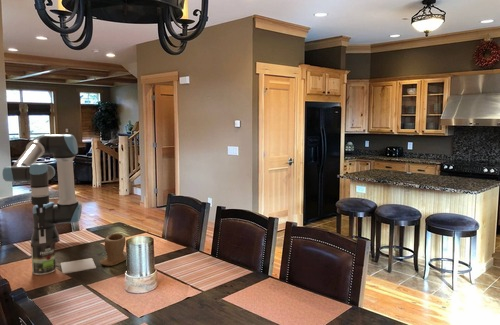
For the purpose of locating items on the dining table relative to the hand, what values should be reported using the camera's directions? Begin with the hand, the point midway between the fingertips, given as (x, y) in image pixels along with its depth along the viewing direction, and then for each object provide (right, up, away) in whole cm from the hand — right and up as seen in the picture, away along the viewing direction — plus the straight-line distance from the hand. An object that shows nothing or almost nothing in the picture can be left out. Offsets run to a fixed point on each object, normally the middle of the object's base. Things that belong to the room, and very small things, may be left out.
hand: (42, 239), depth 189 cm
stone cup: (+31, -15, +14) cm, 37 cm away
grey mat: (+13, -15, +8) cm, 22 cm away
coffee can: (0, -16, +2) cm, 16 cm away
